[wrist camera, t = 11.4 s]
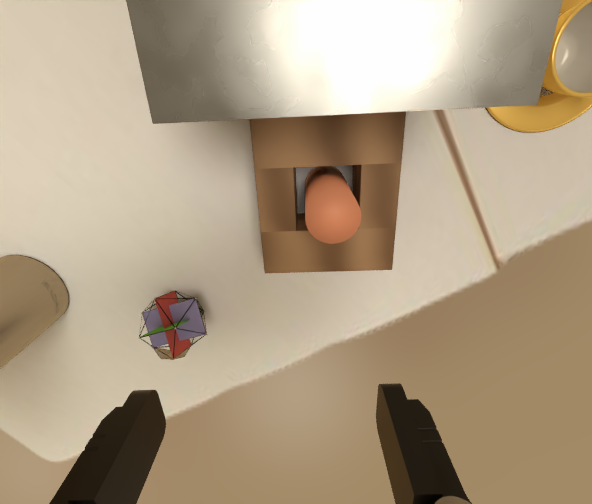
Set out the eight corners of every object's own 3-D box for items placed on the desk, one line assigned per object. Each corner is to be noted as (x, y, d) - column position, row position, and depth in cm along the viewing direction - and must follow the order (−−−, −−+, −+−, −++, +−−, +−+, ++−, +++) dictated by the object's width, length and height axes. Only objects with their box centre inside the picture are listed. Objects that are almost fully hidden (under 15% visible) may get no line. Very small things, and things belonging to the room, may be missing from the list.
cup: (446, 66, 28) (476, 58, 23) (577, -77, 24) (647, -124, 19) (527, 159, 31) (569, 170, 26) (656, 46, 27) (734, 33, 22)
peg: (305, 205, 33) (306, 244, 24) (304, 166, 31) (304, 191, 22) (344, 204, 33) (360, 242, 24) (345, 164, 31) (362, 189, 22)
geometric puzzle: (127, 287, 35) (119, 361, 31) (183, 270, 34) (183, 346, 30) (167, 306, 41) (165, 370, 38) (216, 293, 40) (218, 358, 37)
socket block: (270, 251, 35) (264, 273, 31) (255, 87, 29) (246, 85, 24) (380, 248, 35) (391, 269, 30) (392, 80, 28) (408, 76, 24)
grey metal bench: (225, 114, 30) (152, 123, 16) (203, -57, 25) (68, -270, 11) (424, 104, 29) (537, 105, 15) (444, -75, 24) (642, -331, 10)
